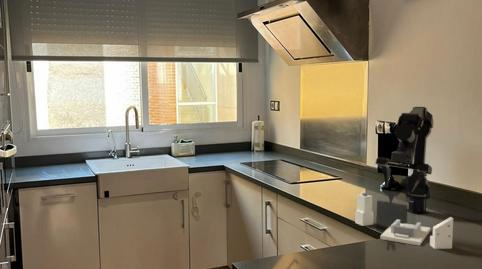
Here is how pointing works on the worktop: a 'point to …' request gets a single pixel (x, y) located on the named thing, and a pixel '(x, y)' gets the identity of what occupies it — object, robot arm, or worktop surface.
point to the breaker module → (364, 210)
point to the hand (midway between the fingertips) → (398, 188)
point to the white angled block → (442, 235)
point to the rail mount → (406, 233)
